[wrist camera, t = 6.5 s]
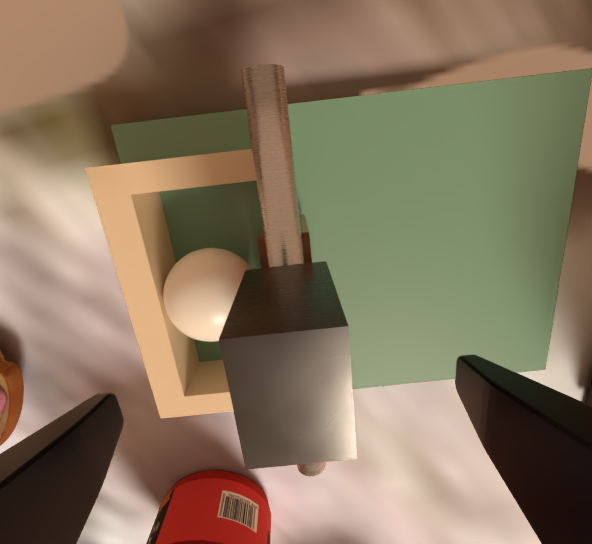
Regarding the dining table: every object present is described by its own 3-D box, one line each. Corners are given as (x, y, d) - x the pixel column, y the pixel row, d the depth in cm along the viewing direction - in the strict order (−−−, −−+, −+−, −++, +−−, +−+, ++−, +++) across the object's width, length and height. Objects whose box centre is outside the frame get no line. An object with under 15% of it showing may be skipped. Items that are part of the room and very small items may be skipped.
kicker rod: (303, 87, 15) (326, -22, 6) (332, 403, 20) (366, 607, 11) (235, 95, 15) (148, 1, 6) (282, 408, 20) (276, 615, 11)
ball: (139, 272, 13) (164, 245, 17) (165, 368, 14) (183, 322, 19) (253, 255, 13) (251, 233, 18) (267, 351, 15) (262, 309, 19)
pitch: (575, 73, 16) (662, 48, 12) (534, 359, 21) (586, 404, 18) (120, 126, 17) (70, 118, 13) (189, 395, 22) (168, 445, 18)
